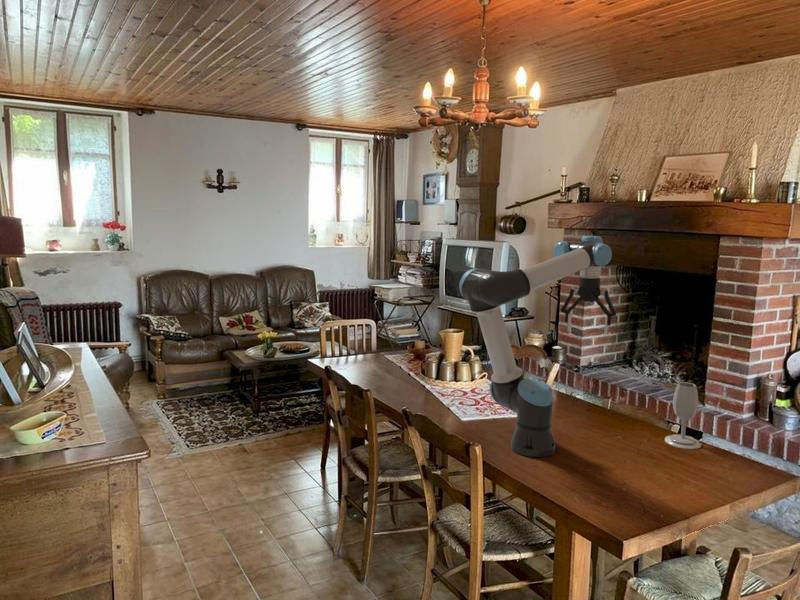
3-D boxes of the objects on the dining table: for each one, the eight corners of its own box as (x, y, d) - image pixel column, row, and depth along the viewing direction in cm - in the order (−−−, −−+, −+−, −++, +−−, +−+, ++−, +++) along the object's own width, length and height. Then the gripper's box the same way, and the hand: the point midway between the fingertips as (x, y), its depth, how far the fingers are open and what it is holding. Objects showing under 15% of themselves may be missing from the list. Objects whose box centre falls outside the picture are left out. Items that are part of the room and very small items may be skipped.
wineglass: (695, 438, 218) (700, 382, 215) (696, 447, 210) (700, 389, 207) (669, 435, 221) (673, 380, 218) (669, 443, 213) (673, 386, 210)
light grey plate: (682, 451, 208) (682, 449, 208) (657, 438, 219) (657, 437, 219) (709, 447, 212) (709, 445, 212) (683, 435, 223) (683, 433, 223)
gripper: (626, 277, 224) (622, 333, 227) (558, 274, 234) (556, 327, 237) (624, 279, 217) (620, 337, 220) (554, 276, 228) (552, 330, 231)
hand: (587, 332), depth 229 cm, fingers open, 13 cm apart
